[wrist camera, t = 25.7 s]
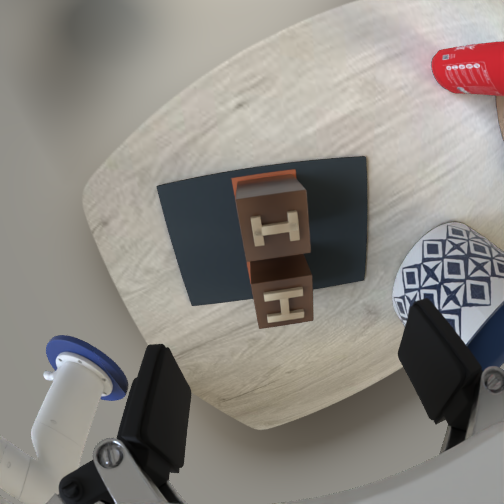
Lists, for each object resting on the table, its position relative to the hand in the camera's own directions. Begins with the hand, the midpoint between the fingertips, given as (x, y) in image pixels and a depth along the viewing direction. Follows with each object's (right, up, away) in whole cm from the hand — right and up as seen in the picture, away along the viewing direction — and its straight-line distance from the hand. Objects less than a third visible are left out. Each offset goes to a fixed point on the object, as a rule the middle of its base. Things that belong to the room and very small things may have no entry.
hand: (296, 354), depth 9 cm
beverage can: (+20, +24, +9) cm, 32 cm away
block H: (+1, +2, +19) cm, 19 cm away
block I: (0, +8, +15) cm, 18 cm away
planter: (+23, +1, +21) cm, 31 cm away
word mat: (0, +5, +17) cm, 18 cm away
